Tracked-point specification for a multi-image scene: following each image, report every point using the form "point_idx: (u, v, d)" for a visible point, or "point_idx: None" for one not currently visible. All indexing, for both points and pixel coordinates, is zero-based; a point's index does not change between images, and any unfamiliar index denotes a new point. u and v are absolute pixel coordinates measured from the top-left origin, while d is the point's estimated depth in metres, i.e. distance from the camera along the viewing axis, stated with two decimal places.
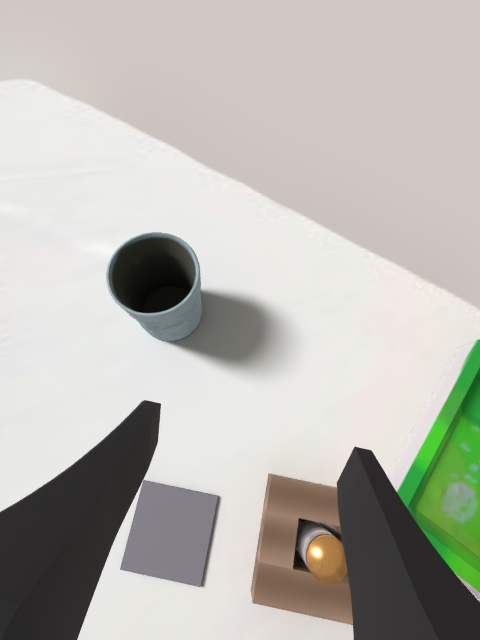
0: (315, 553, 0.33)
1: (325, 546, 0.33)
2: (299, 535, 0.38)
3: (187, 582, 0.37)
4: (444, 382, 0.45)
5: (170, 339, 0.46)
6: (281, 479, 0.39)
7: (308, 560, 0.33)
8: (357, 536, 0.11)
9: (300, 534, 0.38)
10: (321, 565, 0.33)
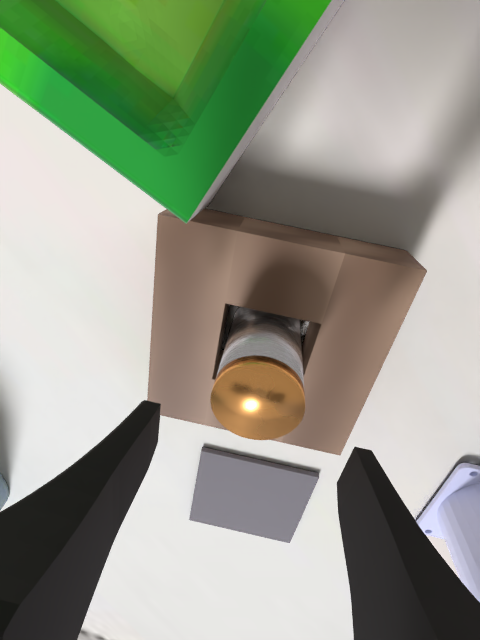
0: (244, 425, 0.15)
1: (231, 407, 0.15)
2: None
3: (311, 489, 0.26)
4: None
5: None
6: (150, 398, 0.20)
7: (257, 437, 0.15)
8: (357, 536, 0.11)
9: None
10: (267, 418, 0.15)
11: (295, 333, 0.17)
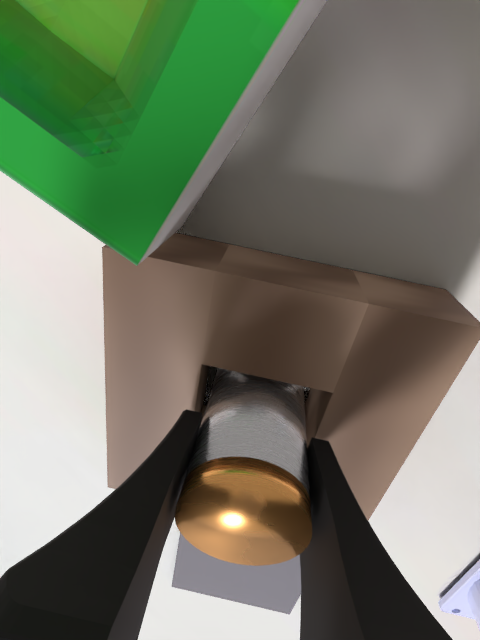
0: (225, 548, 0.11)
1: (205, 526, 0.10)
2: None
3: None
4: None
5: None
6: (110, 472, 0.16)
7: (244, 562, 0.11)
8: None
9: None
10: (257, 542, 0.10)
11: (297, 402, 0.13)
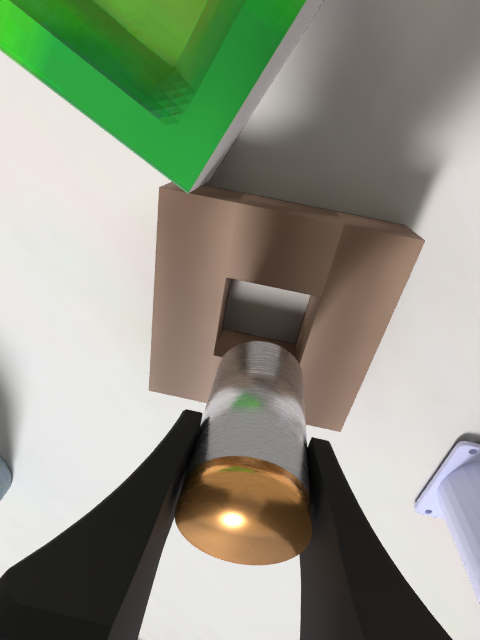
0: (225, 547, 0.11)
1: (204, 526, 0.10)
2: None
3: None
4: None
5: (0, 476, 0.31)
6: (152, 376, 0.21)
7: (244, 562, 0.11)
8: None
9: None
10: (257, 542, 0.10)
11: (297, 401, 0.13)
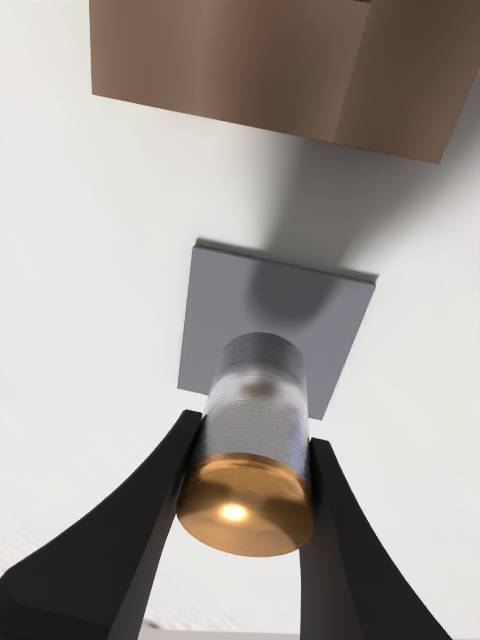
0: (227, 540, 0.11)
1: (206, 520, 0.10)
2: None
3: (362, 312, 0.17)
4: None
5: None
6: (95, 53, 0.11)
7: (246, 554, 0.11)
8: None
9: None
10: (258, 535, 0.10)
11: (299, 394, 0.13)
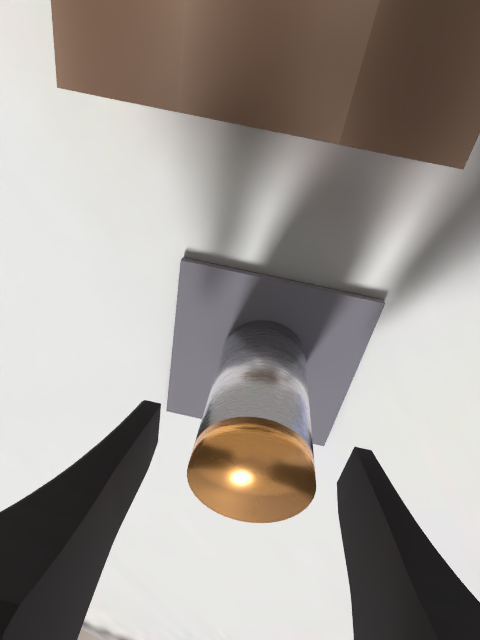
0: (234, 505, 0.11)
1: (215, 484, 0.11)
2: None
3: (369, 332, 0.15)
4: None
5: None
6: (59, 38, 0.10)
7: (252, 520, 0.12)
8: (357, 536, 0.11)
9: None
10: (264, 498, 0.11)
11: (299, 373, 0.14)
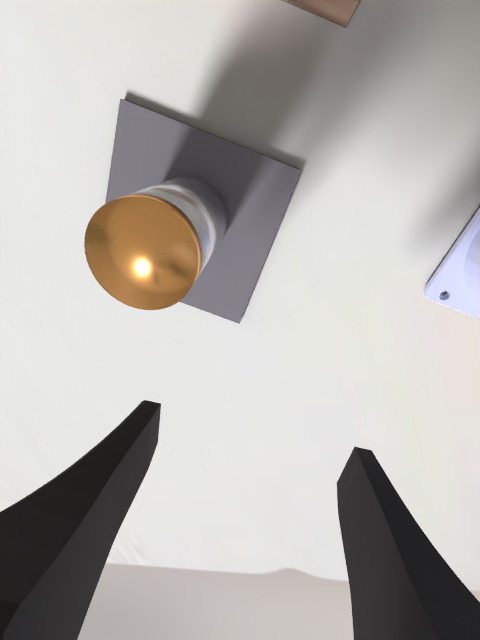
0: (127, 287, 0.12)
1: (109, 257, 0.12)
2: None
3: (286, 201, 0.17)
4: None
5: None
6: None
7: (142, 306, 0.13)
8: (357, 536, 0.11)
9: None
10: (153, 278, 0.12)
11: (212, 207, 0.15)
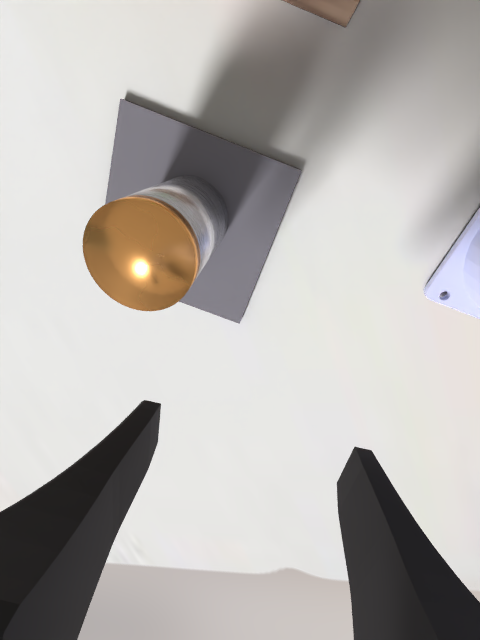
0: (125, 288, 0.12)
1: (108, 259, 0.12)
2: None
3: (286, 201, 0.17)
4: None
5: None
6: None
7: (141, 308, 0.13)
8: (357, 536, 0.11)
9: None
10: (151, 279, 0.12)
11: (211, 208, 0.15)
